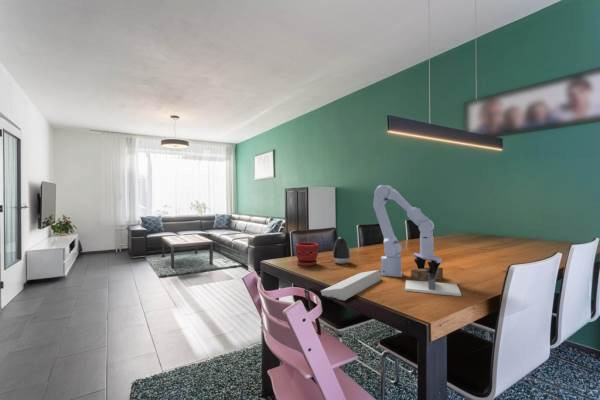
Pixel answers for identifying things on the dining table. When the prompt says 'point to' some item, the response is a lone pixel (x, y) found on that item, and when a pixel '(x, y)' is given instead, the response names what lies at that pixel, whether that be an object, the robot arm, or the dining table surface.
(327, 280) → the dining table surface
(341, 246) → the dark grey rounded shape
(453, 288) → the grey board
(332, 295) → the decorative molding
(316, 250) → the plant pot
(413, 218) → the robot arm
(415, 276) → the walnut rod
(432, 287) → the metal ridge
